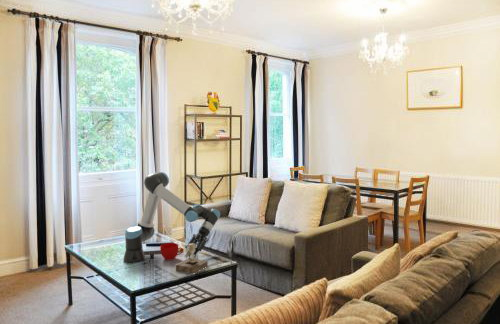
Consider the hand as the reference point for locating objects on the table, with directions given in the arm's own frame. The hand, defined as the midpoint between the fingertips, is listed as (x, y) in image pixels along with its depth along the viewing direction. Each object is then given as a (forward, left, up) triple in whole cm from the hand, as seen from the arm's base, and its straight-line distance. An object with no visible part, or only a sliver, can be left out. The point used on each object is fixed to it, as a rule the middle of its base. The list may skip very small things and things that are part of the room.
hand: (188, 257), depth 285 cm
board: (+1, +3, -9) cm, 9 cm away
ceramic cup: (-23, +13, -9) cm, 28 cm away
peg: (+1, +4, -4) cm, 5 cm away
